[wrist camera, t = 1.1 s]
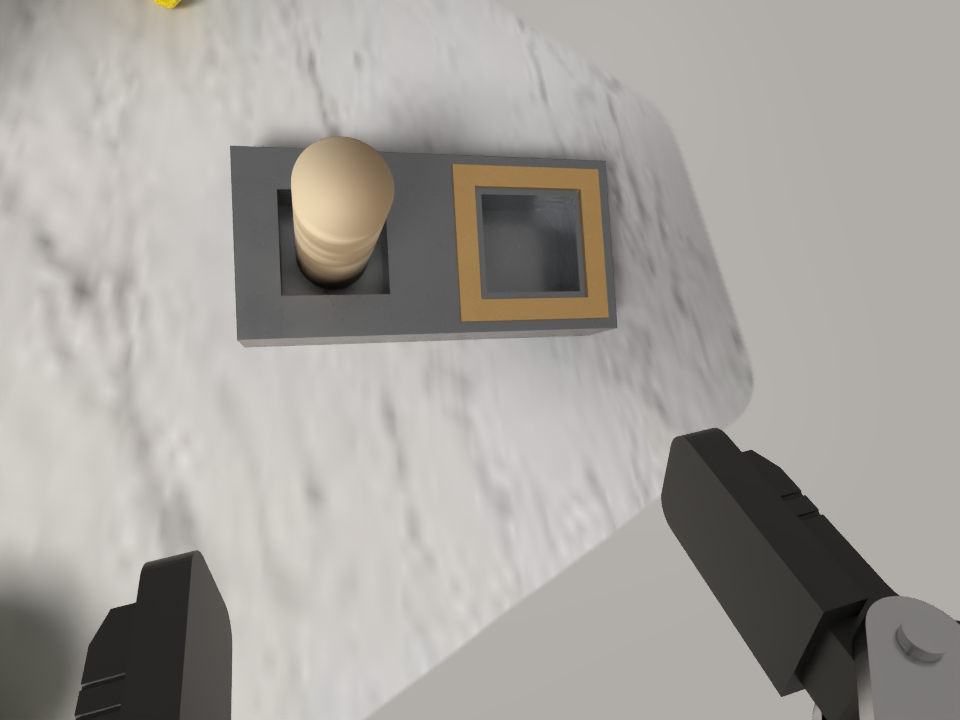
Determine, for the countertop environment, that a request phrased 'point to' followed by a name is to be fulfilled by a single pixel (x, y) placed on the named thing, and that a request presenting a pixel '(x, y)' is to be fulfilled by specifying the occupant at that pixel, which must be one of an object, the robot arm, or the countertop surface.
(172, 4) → the watch
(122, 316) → the countertop surface
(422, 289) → the base plate
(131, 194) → the countertop surface
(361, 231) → the peg
